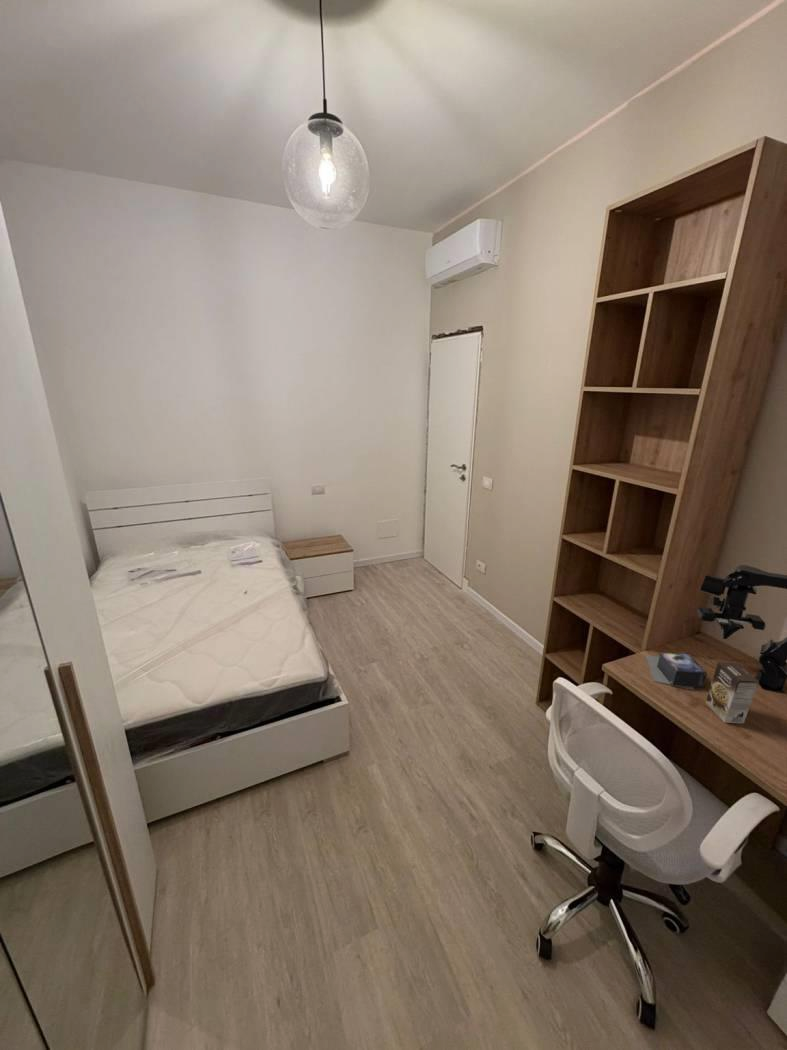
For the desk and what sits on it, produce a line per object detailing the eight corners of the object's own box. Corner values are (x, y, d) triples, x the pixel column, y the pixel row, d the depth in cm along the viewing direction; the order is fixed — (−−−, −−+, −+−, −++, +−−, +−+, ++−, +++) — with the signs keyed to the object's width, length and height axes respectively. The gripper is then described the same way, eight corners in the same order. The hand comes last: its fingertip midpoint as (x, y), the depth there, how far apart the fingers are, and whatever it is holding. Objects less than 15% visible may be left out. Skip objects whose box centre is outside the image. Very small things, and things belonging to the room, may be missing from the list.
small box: (708, 672, 142) (676, 671, 143) (703, 687, 145) (672, 686, 145) (689, 653, 152) (659, 652, 153) (685, 667, 155) (656, 666, 155)
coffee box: (704, 702, 139) (716, 661, 133) (724, 702, 138) (737, 661, 133) (724, 723, 130) (738, 680, 125) (745, 723, 130) (760, 680, 125)
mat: (681, 662, 158) (681, 661, 158) (693, 690, 144) (694, 689, 144) (645, 655, 162) (645, 654, 162) (654, 681, 148) (654, 680, 148)
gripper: (758, 594, 151) (746, 631, 156) (697, 586, 158) (687, 622, 163) (772, 609, 142) (759, 648, 147) (706, 599, 148) (696, 637, 153)
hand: (724, 638), depth 152 cm, fingers closed
